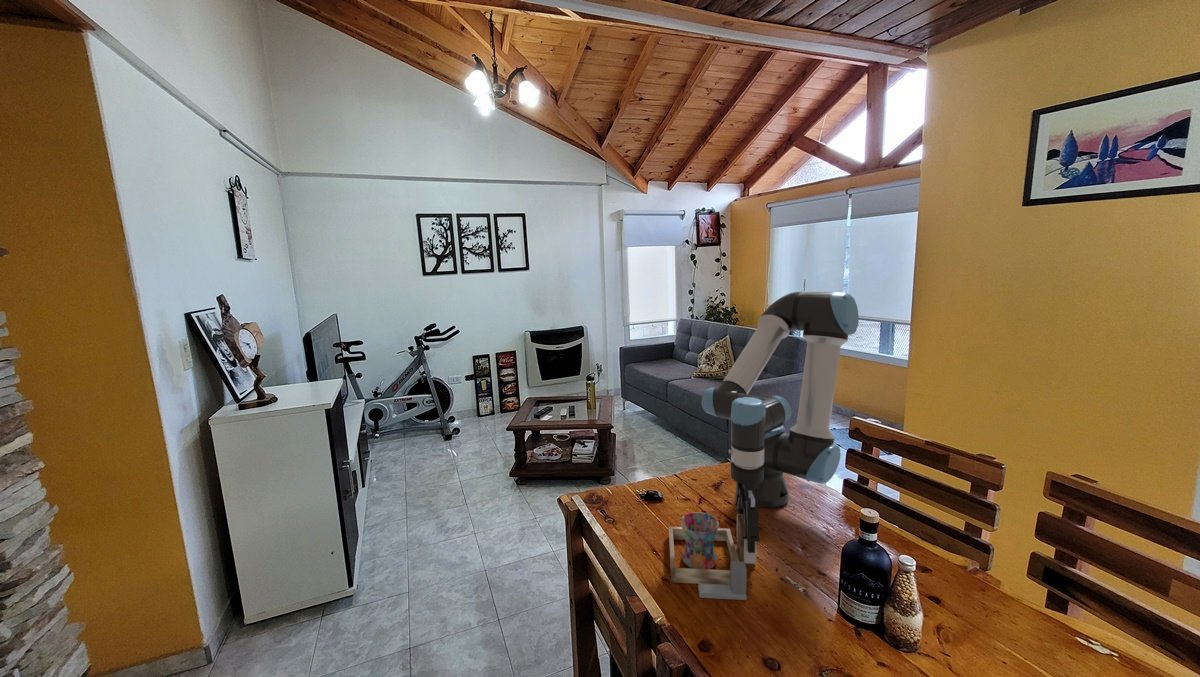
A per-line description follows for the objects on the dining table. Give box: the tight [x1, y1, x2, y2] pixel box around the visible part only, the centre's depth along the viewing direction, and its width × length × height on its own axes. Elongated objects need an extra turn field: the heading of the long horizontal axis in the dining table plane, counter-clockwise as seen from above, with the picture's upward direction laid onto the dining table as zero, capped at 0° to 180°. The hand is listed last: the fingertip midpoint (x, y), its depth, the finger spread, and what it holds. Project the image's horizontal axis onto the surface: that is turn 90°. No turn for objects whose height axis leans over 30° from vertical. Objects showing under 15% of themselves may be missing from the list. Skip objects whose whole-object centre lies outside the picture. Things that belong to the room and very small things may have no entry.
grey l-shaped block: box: [697, 560, 748, 601], centre depth 99 cm, size 10×3×7 cm, turn 83°
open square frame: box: [668, 515, 756, 585], centre depth 111 cm, size 20×18×11 cm
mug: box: [679, 511, 720, 569], centre depth 111 cm, size 12×9×11 cm
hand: (746, 550), depth 110 cm, fingers open, 9 cm apart
